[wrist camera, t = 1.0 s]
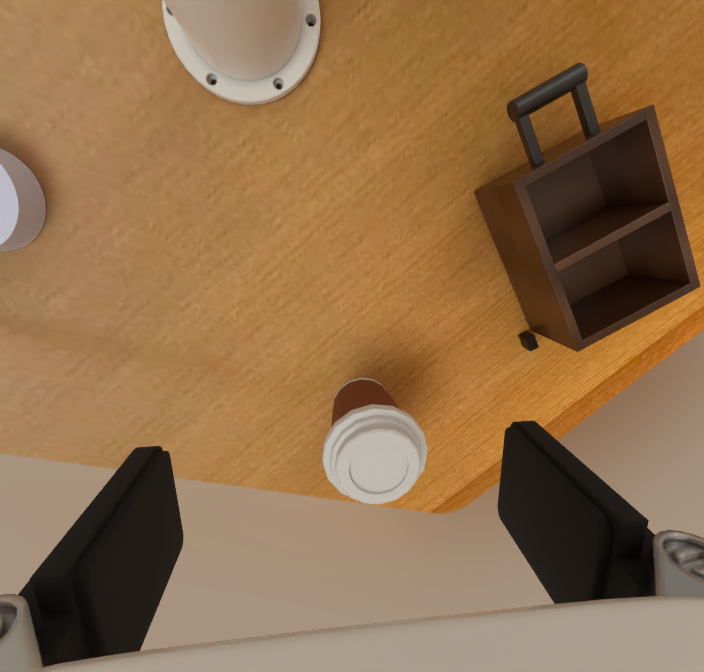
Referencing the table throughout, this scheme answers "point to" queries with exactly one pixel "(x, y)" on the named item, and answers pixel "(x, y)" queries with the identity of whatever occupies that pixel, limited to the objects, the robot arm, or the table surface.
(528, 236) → the shelf
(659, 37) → the table surface
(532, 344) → the dark brown rod
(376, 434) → the coffee cup
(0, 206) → the wedge on round base
